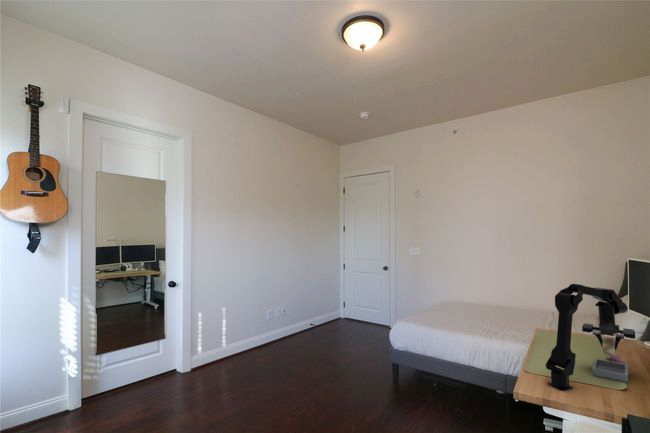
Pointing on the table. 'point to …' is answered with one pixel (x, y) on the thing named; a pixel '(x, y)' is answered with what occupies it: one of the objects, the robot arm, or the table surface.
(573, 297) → the robot arm
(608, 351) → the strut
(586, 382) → the table surface
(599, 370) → the bin
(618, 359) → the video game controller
